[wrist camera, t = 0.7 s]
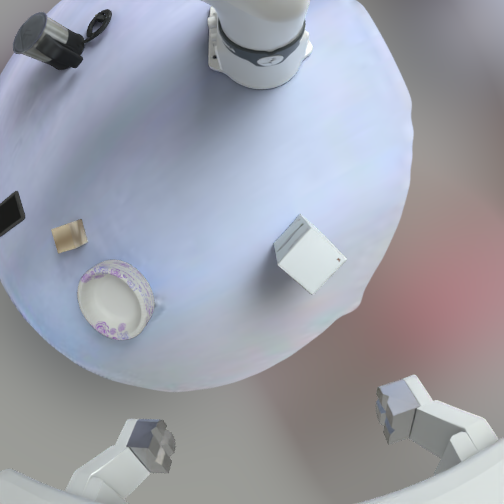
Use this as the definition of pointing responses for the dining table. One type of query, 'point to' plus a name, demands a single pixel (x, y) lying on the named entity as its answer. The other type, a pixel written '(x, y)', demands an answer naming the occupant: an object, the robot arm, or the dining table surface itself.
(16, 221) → the cell phone
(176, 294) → the dining table surface
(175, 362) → the dining table surface
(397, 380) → the robot arm
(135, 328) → the paper bowls
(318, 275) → the supplement box
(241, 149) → the dining table surface
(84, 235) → the maple block
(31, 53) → the milk frother
